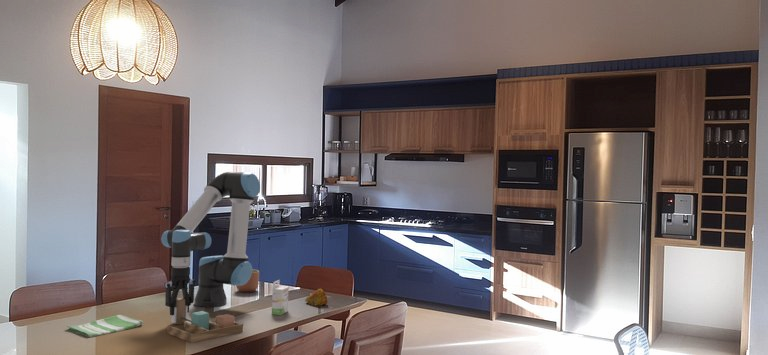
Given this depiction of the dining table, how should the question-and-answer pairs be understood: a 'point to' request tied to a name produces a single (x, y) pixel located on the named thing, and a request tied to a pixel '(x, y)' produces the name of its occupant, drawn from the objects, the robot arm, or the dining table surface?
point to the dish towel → (106, 326)
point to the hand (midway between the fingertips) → (179, 321)
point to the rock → (317, 298)
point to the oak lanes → (203, 331)
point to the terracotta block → (225, 320)
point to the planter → (250, 283)
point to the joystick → (196, 318)
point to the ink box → (279, 299)
